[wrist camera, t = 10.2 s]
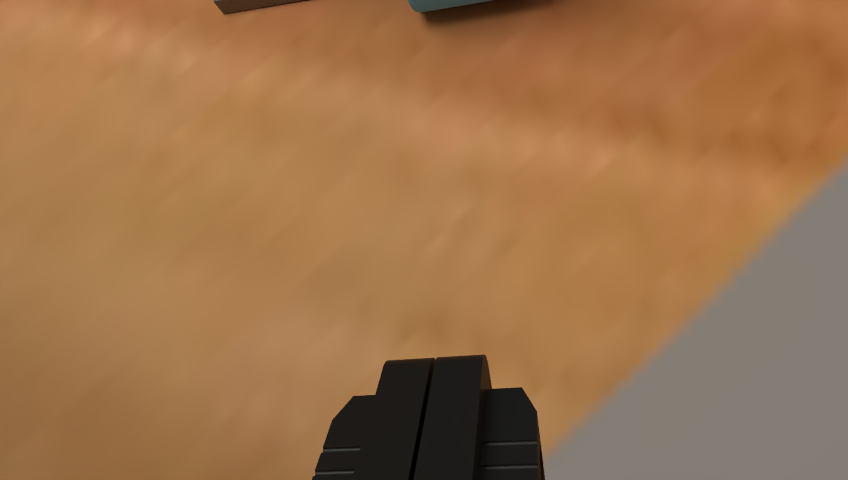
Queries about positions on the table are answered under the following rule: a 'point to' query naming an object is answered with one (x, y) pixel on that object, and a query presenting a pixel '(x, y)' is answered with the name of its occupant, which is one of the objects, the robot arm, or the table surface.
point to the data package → (439, 4)
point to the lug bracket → (247, 4)
